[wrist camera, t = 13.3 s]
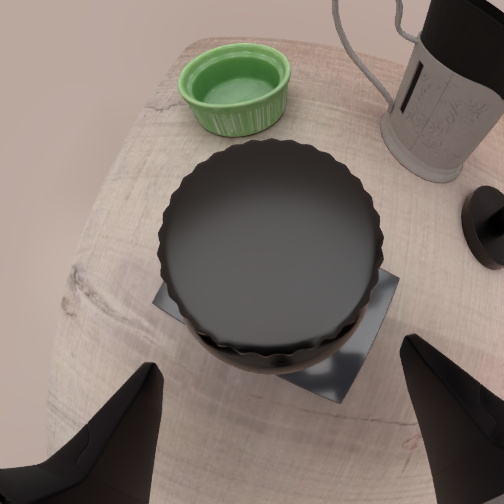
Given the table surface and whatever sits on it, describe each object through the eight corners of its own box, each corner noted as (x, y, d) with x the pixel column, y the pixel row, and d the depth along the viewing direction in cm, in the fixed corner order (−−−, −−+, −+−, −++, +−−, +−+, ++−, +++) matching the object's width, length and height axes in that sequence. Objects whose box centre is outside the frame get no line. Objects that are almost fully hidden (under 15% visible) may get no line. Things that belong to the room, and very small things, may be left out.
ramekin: (250, 66, 24) (245, 33, 19) (312, 109, 21) (315, 72, 17) (175, 108, 23) (160, 75, 19) (227, 162, 21) (215, 126, 16)
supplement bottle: (215, 345, 16) (94, 371, 5) (227, 240, 18) (151, 111, 7) (327, 354, 16) (418, 406, 4) (333, 246, 17) (402, 118, 6)
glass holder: (464, 198, 18) (568, 86, 3) (310, 139, 20) (322, -43, 6) (458, 127, 20) (520, 22, 5) (330, 78, 22) (341, -56, 8)
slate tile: (338, 402, 15) (340, 404, 15) (155, 303, 18) (151, 303, 18) (396, 279, 17) (400, 278, 16) (218, 194, 20) (216, 190, 19)
